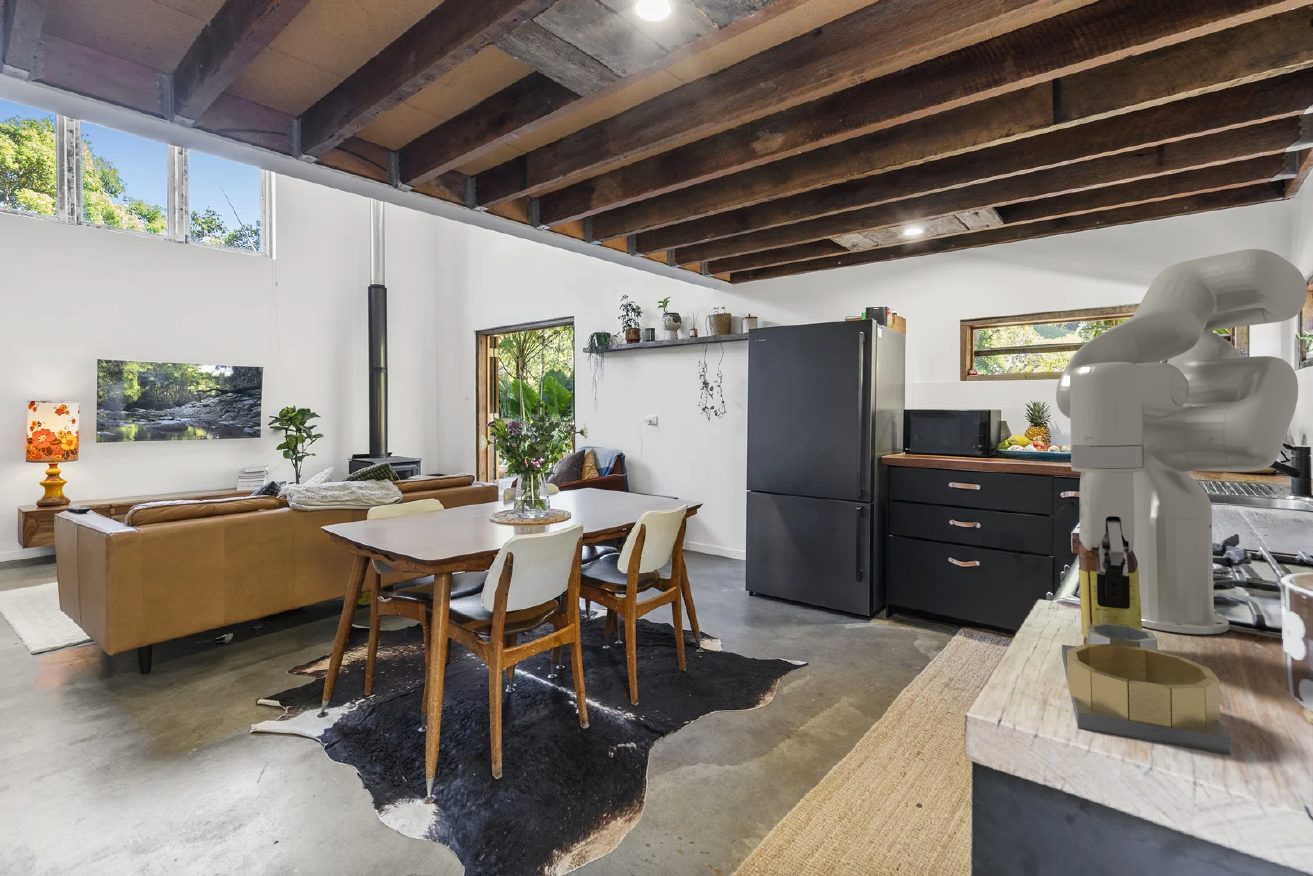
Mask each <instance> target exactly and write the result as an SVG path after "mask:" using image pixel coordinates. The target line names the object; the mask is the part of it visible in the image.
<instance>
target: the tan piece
mask: <svg viewBox="0 0 1313 876" xmlns="http://www.w3.org/2000/svg"><path fill="white" fill-rule="evenodd" d="M1061 658H1062V662H1063V667H1064V671H1065V676H1066V681H1067V686H1068V691H1069V694H1070V698H1071V703H1072V706H1073V707H1072V708H1073V711H1074V717H1075V721H1076V724H1077V729H1082V730H1088V731H1093V732H1099V733H1106V734H1111V735H1116V736H1122V737H1128V738H1133V739H1136V740H1137V739H1138V740H1143V741H1148V742H1156V743H1159V744H1160V743H1161V744H1166V745H1170V746H1171V745H1172V746H1178V747H1181V748H1182V747H1184V748H1186V749H1187V748H1188V749H1193V750H1198V751H1199V750H1200V751H1206V752H1210V753H1216V754H1221V755H1226V756H1227V755H1228V756H1231V755H1232V745H1231V744H1232V743H1231V742H1232V739H1231V737H1230V735H1229V733H1228V732H1227V731H1226V729H1225V728H1224V726H1223V725H1222V723H1221V722H1220V721H1219V719H1221V709H1220V707H1221V704H1220V703H1221V702H1220V679H1219V678H1218V676H1216V674H1215V673H1214V671H1212V670H1211V669H1210V667H1206V666H1204V665H1202V664H1200V663H1197V662H1195V661H1193V660H1190V659H1188V658H1185V657H1182V656H1179V655H1176V654H1175V655H1174V654H1171V653H1167V652H1163V651H1158V637H1156V636H1155V634H1154V633H1153V632H1151V631H1148V630H1145V629H1143V628H1142V629H1139V628H1135V627H1132V626H1126V625H1116V624H1107V623H1101V624H1093V625H1087V645H1084V644H1080V645H1069V644H1061Z"/></svg>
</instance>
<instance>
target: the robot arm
mask: <svg viewBox="0 0 1313 876" xmlns="http://www.w3.org/2000/svg"><path fill="white" fill-rule="evenodd" d="M1307 297H1308V286H1307V282H1306V280H1305V277H1304V276H1303V274H1302V271H1300V269H1298V267H1297V266H1295V264H1294V263H1291V261H1288V260H1287V259H1285V258H1284V257H1282V256H1281V255H1279V254H1278V253H1275V252H1273V251H1270V250H1266V249H1261V248H1260V249H1259V248H1248V249H1241V250H1236V251H1231V252H1225V253H1221V254H1216V255H1211V256H1210V255H1209V256H1206V257H1205V256H1204V257H1201V258H1195V259H1190V260H1186V261H1182V262H1178V263H1175V264H1173V265H1170V266H1168V267H1167V268H1164V269H1162V270H1161V272H1159V274H1158V275H1156V276H1155V278H1154V279H1153V280H1152V283H1151V284H1150V286H1149V287H1148V290H1147V291H1146V293H1145V294H1144V296H1143V297H1142V300H1141V302H1140V303H1139V305H1138V306H1137V309H1135V312H1134V314H1133V316H1132V317H1130V318H1128V319H1126V320H1124V321H1122V322H1119V324H1117V325H1115V326H1113V327H1111V328H1109V329H1108V330H1106V331H1105V332H1103V333H1101V334H1099V335H1097V336H1096V337H1094V338H1092V339H1091V340H1089V341H1088V342H1086V343H1085V344H1084V345H1082V346H1080V348H1078V349H1077V350H1076V351H1075V353H1074V354H1073V355H1072V356H1071V358H1070V360H1069V362H1068V363H1067V365H1066V366H1065V368H1064V370H1063V372H1062V373H1061V375H1060V378H1059V380H1058V383H1057V387H1056V391H1055V401H1056V405H1057V408H1058V409H1059V411H1060V412H1061V414H1062V415H1064V416H1065V417H1066V418H1068V419H1070V461H1071V465H1070V467H1071V472H1075V473H1076V472H1078V473H1080V477H1079V478H1080V479H1079V528H1078V530H1079V532H1078V533H1079V534H1078V536H1079V537H1078V538H1079V541H1080V542H1081V541H1082V545H1083V546H1084V547H1085V548H1086V549H1087V550H1089V551H1092V547H1096V548H1098V558H1099V572H1100V573H1097V603H1098V605H1099V606H1101V607H1111V608H1121V609H1128V608H1130V579H1129V576H1128V565H1127V553H1129V552H1131V551H1132V550H1133V552H1134V554H1135V557H1136V559H1137V561H1138V572H1139V586H1140V601H1141V620H1142V627H1144V628H1149V629H1152V630H1158V631H1164V632H1171V633H1178V634H1187V635H1188V634H1189V635H1190V634H1191V635H1217V634H1223V633H1226V632H1227V631H1229V629H1230V621H1229V620H1228V619H1227V618H1226V617H1224V616H1222V615H1220V614H1217V613H1214V612H1215V611H1214V609H1215V608H1214V604H1215V603H1214V602H1215V601H1214V558H1213V557H1214V555H1213V552H1214V551H1213V550H1214V547H1213V511H1212V510H1213V507H1212V502H1211V500H1210V498H1209V495H1208V494H1207V493H1206V491H1205V489H1204V488H1203V487H1202V486H1201V485H1200V484H1199V483H1198V482H1197V481H1196V480H1195V478H1193V477H1192V475H1191V474H1189V472H1197V471H1198V472H1199V471H1200V472H1201V471H1202V472H1229V473H1230V472H1231V473H1232V472H1233V473H1237V472H1238V473H1241V472H1242V473H1244V472H1245V473H1246V472H1249V473H1250V472H1259V471H1263V470H1266V469H1268V468H1270V467H1271V466H1272V465H1274V463H1275V462H1276V461H1277V459H1278V458H1279V456H1280V454H1281V451H1282V448H1283V447H1284V443H1285V440H1286V438H1287V435H1288V432H1289V429H1290V426H1291V423H1292V420H1293V417H1294V414H1295V411H1296V408H1297V404H1298V399H1299V381H1298V377H1297V374H1296V372H1295V370H1294V368H1293V367H1292V365H1291V363H1290V364H1289V363H1288V362H1287V361H1286V360H1285V359H1282V358H1280V357H1276V356H1268V355H1261V356H1259V355H1258V356H1246V357H1245V356H1243V357H1241V353H1240V351H1239V350H1238V348H1236V347H1235V346H1234V345H1233V344H1232V343H1231V342H1230V341H1229V340H1227V339H1226V338H1224V337H1223V336H1221V335H1220V334H1218V333H1216V332H1214V331H1215V330H1216V331H1217V330H1223V329H1231V328H1239V327H1246V326H1247V327H1249V326H1256V325H1264V324H1265V325H1266V324H1271V323H1273V324H1274V323H1279V322H1285V321H1287V320H1291V319H1293V318H1295V317H1296V316H1298V314H1300V313H1301V311H1302V310H1303V308H1304V307H1305V306H1306V302H1307ZM1165 361H1167V362H1165ZM1106 528H1107V532H1106ZM1126 541H1128V544H1126ZM1102 545H1108V546H1109V549H1103V548H1102ZM1126 549H1128V551H1126ZM1104 555H1108V556H1106V558H1105V556H1104Z"/></svg>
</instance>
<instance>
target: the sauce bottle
mask: <svg viewBox="0 0 1313 876" xmlns="http://www.w3.org/2000/svg"><path fill="white" fill-rule="evenodd" d="M1106 532H1107V528H1106ZM1126 544H1128V541H1126ZM1102 548H1103V549H1109V546H1108V545H1102ZM1077 551H1078V564H1079V565H1078V583H1079V585H1078V586H1079V598H1080V599H1079V601H1080V617H1081V620H1080V621H1081V634H1082V636H1083V645H1087V625H1093V624H1101V623H1107V624H1116V625H1126V626H1132V627H1135V628H1139V629H1142V630H1143V626H1142V620H1141V601H1140V586H1139V572H1138V561H1137V559H1136V557H1135V554H1134V552H1133V550H1132V551H1131V552H1129V553H1127V565H1128V576H1129V579H1130V608H1128V609H1121V608H1111V607H1101V606H1099V605H1098V603H1097V573H1100V572H1099V558H1098V548H1096V547H1092V551H1089V550H1087V549H1086V548H1085V547H1084V546H1083V545H1082V541H1080V543H1079V545H1078V550H1077ZM1126 551H1128V549H1126ZM1104 556H1105V558H1106V556H1108V555H1104Z"/></svg>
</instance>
